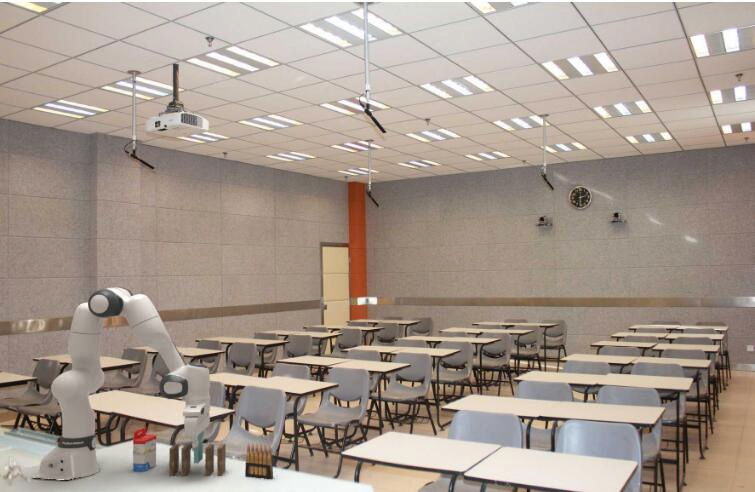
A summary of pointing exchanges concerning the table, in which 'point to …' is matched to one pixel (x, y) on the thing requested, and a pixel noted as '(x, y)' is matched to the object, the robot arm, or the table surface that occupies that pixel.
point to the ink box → (144, 450)
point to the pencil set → (259, 462)
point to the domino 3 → (199, 449)
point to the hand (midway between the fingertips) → (198, 444)
